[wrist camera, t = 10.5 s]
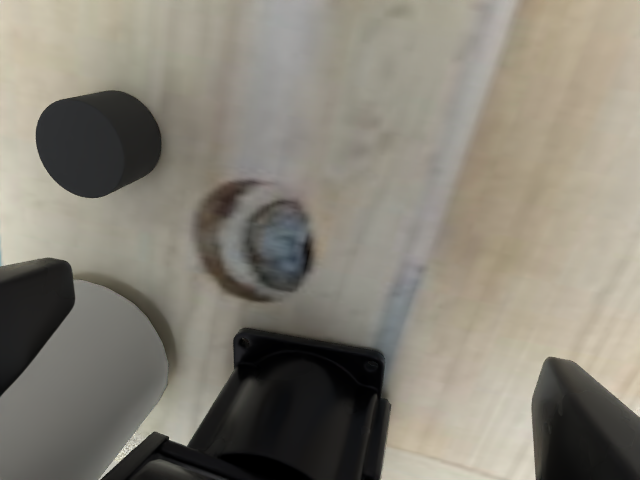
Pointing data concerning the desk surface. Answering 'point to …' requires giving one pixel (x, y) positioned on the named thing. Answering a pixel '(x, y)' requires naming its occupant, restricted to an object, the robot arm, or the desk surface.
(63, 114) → the black short cylinder
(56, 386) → the can
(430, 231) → the desk surface
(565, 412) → the robot arm
